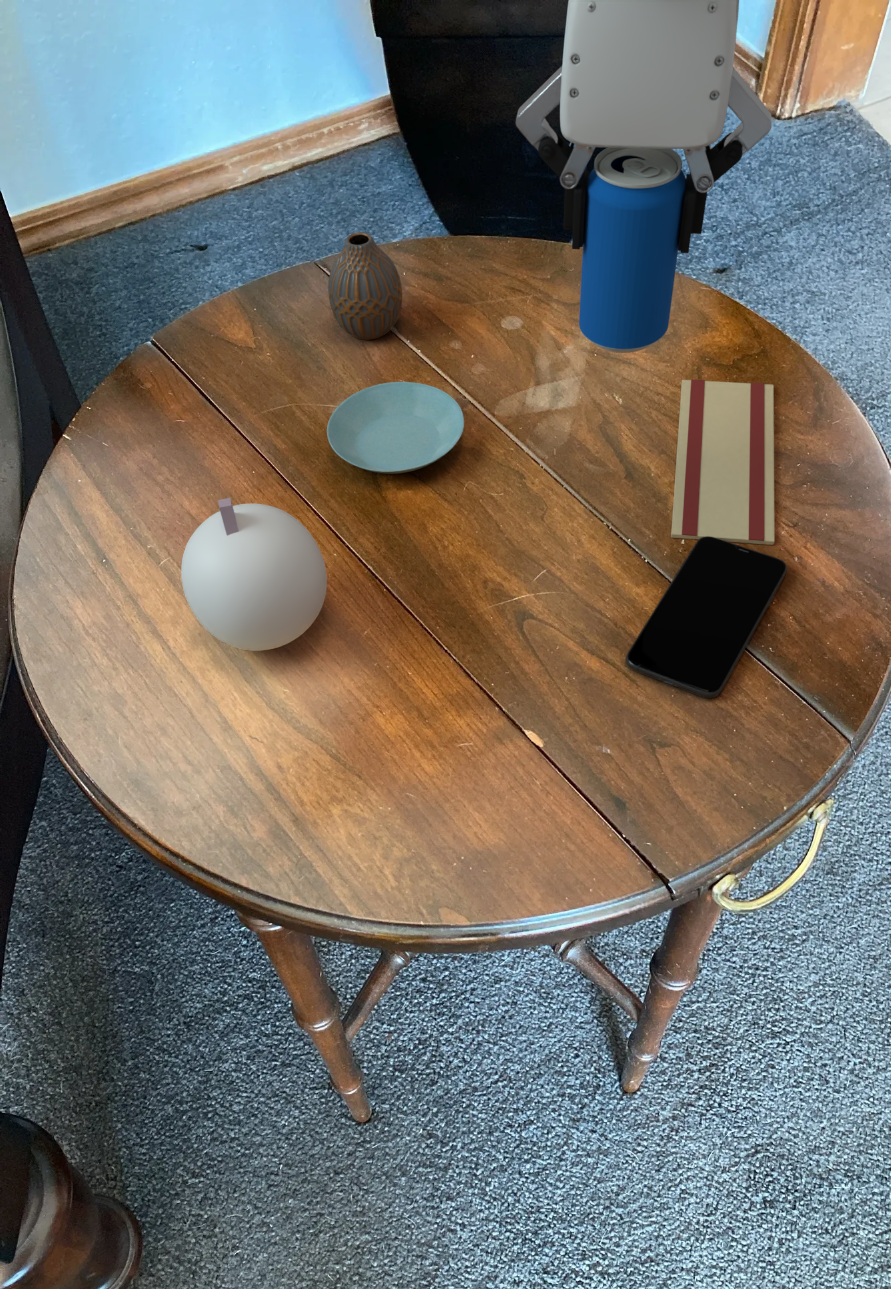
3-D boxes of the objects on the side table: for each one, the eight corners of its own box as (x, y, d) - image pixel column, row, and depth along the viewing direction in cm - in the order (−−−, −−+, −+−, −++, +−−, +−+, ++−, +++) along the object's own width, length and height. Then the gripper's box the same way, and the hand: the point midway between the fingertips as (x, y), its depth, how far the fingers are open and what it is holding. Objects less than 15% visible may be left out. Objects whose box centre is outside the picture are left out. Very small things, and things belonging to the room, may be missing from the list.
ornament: (177, 619, 84) (132, 499, 74) (288, 559, 87) (259, 435, 77) (246, 699, 79) (207, 581, 69) (360, 632, 82) (339, 510, 72)
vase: (409, 307, 106) (401, 218, 98) (400, 349, 102) (391, 260, 95) (339, 306, 106) (327, 218, 99) (328, 348, 102) (314, 259, 95)
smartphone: (715, 705, 76) (790, 569, 83) (717, 697, 76) (792, 561, 82) (619, 668, 79) (700, 539, 85) (620, 660, 78) (701, 531, 85)
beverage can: (617, 297, 82) (631, 128, 72) (685, 330, 79) (709, 158, 69) (560, 335, 79) (566, 166, 69) (628, 370, 77) (645, 199, 67)
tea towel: (772, 388, 96) (773, 383, 95) (773, 545, 85) (774, 540, 84) (681, 383, 97) (682, 378, 96) (670, 537, 86) (671, 533, 86)
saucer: (414, 509, 89) (412, 487, 87) (303, 461, 93) (298, 440, 92) (490, 429, 95) (490, 407, 93) (382, 388, 99) (379, 366, 97)
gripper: (822, -110, 59) (761, 215, 74) (510, -107, 62) (511, 207, 77) (827, -56, 55) (761, 276, 70) (493, -56, 58) (497, 266, 73)
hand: (631, 238), depth 73 cm, fingers closed on beverage can, 6 cm apart
